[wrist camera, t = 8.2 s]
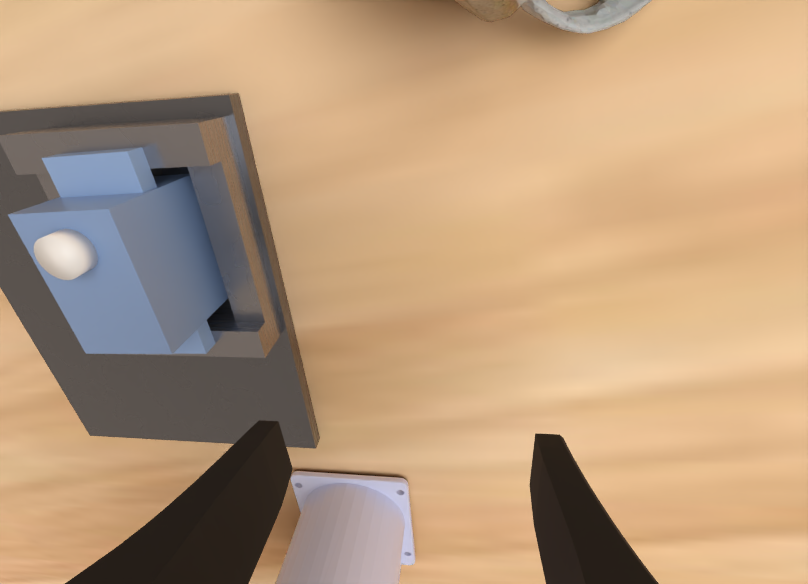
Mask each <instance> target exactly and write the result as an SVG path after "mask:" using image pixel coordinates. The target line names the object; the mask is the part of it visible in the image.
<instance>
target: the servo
mask: <svg viewBox="0 0 808 584" xmlns="http://www.w3.org/2000/svg"><path fill="white" fill-rule="evenodd" d="M42 160H43V162H44V164H45V166H46V168H47V170H48V172H49V174H50V176H51V179H52V181H53V183H54V185H55V187H56V189H57V191H58V193H59V195H60V197H58V198H55V199H52V200H49V201H46V202H43V203H40V204H37V205H34V206H32V207H29V208H26V209H23V210H20V211H17V212H14V213H11V214H8V216H9V218H10V220H11V222H12V223H13V225H14V227H15V229H16V230H17V232H18V234H19V236H20V238H21V239H22V241H23V243H24V245H25V246H26V248H27V250H28V252H29V254H30V255H31V257H32V259H33V261H34V262H35V264H36V266H37V268H38V270H39V271H40V273H41V275H42V277H43V278H44V280H45V282H46V284H47V286H48V287H49V289H50V291H51V293H52V294H53V296H54V298H55V300H56V302H57V303H58V305H59V307H60V309H61V310H62V312H63V314H64V316H65V318H66V319H67V321H68V323H69V325H70V326H71V328H72V330H73V332H74V334H75V335H76V337H77V339H78V341H79V343H80V344H81V346H82V348H83V350H84V351H85V353H86V354H207V353H208V352H209V350H210V349H211V348H212V347H213V346H214V345H215V344H216V343H215V341H214V338H213V335H212V333H211V330H210V327H209V325H208V322H207V319H208V318H209V317H210V316H211V315H212V314H213V313H214V312H215V311H216V310H217V309H218V308H219V307H220V306H221V305H222V304H223V303H224V302H225V301H226V300H227V299H228V295H227V292H226V289H225V286H224V283H223V279H222V276H221V273H220V270H219V267H218V263H217V260H216V257H215V254H214V251H213V247H212V244H211V241H210V238H209V235H208V231H207V228H206V225H205V222H204V219H203V215H202V212H201V209H200V206H199V203H198V199H197V196H196V193H195V190H194V187H193V183H192V180H191V177H190V174H178V175H164V176H153V175H152V172H151V169H150V167H149V164H148V161H147V159H146V156H145V153H144V151H143V148H142V147H139V148H126V149H114V150H101V151H89V152H77V153H64V154H57V155H53V156H48V157H44V158H42Z"/></svg>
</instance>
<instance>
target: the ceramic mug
mask: <svg viewBox="0 0 808 584" xmlns="http://www.w3.org/2000/svg"><path fill="white" fill-rule="evenodd" d="M455 1H456V2H457V3H459V4H460V5H461V6H462V7H464V8H465V9H466V10H468V11H469V12H471V13H472V14H474V15H475V16H477V17H478V18H480V19H481V20H484V21H487V22H493V21H497V20H500V19H504V18H507V17H510V16H511V15H512V14H513V13H514V12H515V11H516V10H517V9H518V8H519V7H520V6H521V7H522V9H523V10H524V11H526V12H527V13H529V14H530V15H532V16H534V17H536V18H538V19H539V20H541V21H543V22H545V23H547V24H550V25H552V26H554V27H556V28H559V29H562V30H566V31H570V32H576V33H592V32H596V31H600V30H604V29H608V28H610V27H612V26H615V25H617V24H619V23H622V22H624V21H625V20H627V19H628V18H630V17H631V16H632V15H634V14H635V13H637V12H638V11H639V10H640V9H641V8H643V7H644V6H645V5H647V4H648V3H649V2H650V1H651V0H599V2H598V3H597V4H596V5H594V6H591V7H589V8H587V9H585V10H575V11H568V12H563V11H560V10H558V9H556V8H554V7H553V6H551V5H549V4H548V3H547V2H546V0H455Z"/></svg>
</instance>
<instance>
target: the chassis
mask: <svg viewBox="0 0 808 584" xmlns="http://www.w3.org/2000/svg"><path fill="white" fill-rule="evenodd" d="M139 147H142V148H143V151H144V153H145V156H146V159H147V161H148V164H149V167H150V169H151V172H152V175H153V176H164V175H178V174H190V177H191V180H192V183H193V187H194V190H195V193H196V196H197V199H198V203H199V206H200V209H201V212H202V215H203V219H204V222H205V225H206V228H207V231H208V235H209V238H210V241H211V244H212V247H213V251H214V254H215V257H216V260H217V263H218V267H219V270H220V273H221V276H222V279H223V283H224V286H225V289H226V292H227V295H228V299H227V300H226V301H225V302H224V303H223V304H222V305H221V306H220V307H219V308H218V309H217V310H216V311H215V312H214V313H213V314H212V315H211V316H210V317H209V318H208V319H207V322H208V325H209V327H210V330H211V333H212V335H213V338H214V341H215V343H216V344H215V345H214V346H213V347H212V348H211V349H210V350H209V352H208V353H207V354H86V353H85V351H84V350H83V348H82V346H81V344H80V343H79V341H78V339H77V337H76V335H75V334H74V332H73V330H72V328H71V326H70V325H69V323H68V321H67V319H66V318H65V316H64V314H63V312H62V310H61V309H60V307H59V305H58V303H57V302H56V300H55V298H54V296H53V294H52V293H51V291H50V289H49V287H48V286H47V284H46V282H45V280H44V278H43V277H42V275H41V273H40V271H39V270H38V268H37V266H36V264H35V262H34V261H33V259H32V257H31V255H30V254H29V252H28V250H27V248H26V246H25V245H24V243H23V241H22V239H21V238H20V236H19V234H18V232H17V230H16V229H15V227H14V225H13V223H12V222H11V220H10V218H9V216H8V214H11V213H14V212H17V211H20V210H23V209H26V208H29V207H32V206H34V205H37V204H40V203H43V202H46V201H49V200H52V199H55V198H58V197H60V195H59V193H58V191H57V189H56V187H55V185H54V183H53V181H52V179H51V176H50V174H49V172H48V170H47V168H46V166H45V164H44V162H43V160H42V158H44V157H48V156H53V155H57V154H64V153H77V152H89V151H101V150H114V149H126V148H139ZM0 287H1V289H2V291H3V292H4V294H5V296H6V297H7V299H8V301H9V302H10V304H11V306H12V307H13V309H14V311H15V312H16V314H17V316H18V317H19V319H20V321H21V322H22V324H23V326H24V327H25V329H26V330H27V332H28V334H29V335H30V337H31V339H32V340H33V342H34V344H35V345H36V347H37V349H38V350H39V352H40V354H41V355H42V357H43V359H44V360H45V362H46V364H47V365H48V367H49V369H50V370H51V372H52V373H53V375H54V377H55V378H56V380H57V382H58V383H59V385H60V387H61V388H62V390H63V392H64V393H65V395H66V397H67V398H68V400H69V402H70V403H71V405H72V407H73V408H74V410H75V411H76V413H77V415H78V416H79V418H80V420H81V421H82V423H83V425H84V426H85V428H86V430H87V431H88V433H89V435H90V436H108V437H125V438H143V439H160V440H177V441H195V442H212V443H230V444H235V443H236V442H237V441H238V440H239V439H240V438H241V437H242V436H243V435H244V434H245V433H246V432H247V431H248V430H249V429H250V428H251V427H252V426H253V425H254V424H256V423H257V422H258V421H259V420H263V421H279V425H280V428H281V431H282V435H283V438H284V442H285V445H286V447H300V448H316V447H317V444H318V442H319V439H320V437H319V433H318V429H317V424H316V420H315V416H314V412H313V407H312V403H311V399H310V395H309V390H308V386H307V382H306V378H305V373H304V369H303V365H302V361H301V356H300V352H299V348H298V344H297V339H296V335H295V331H294V327H293V322H292V318H291V314H290V310H289V305H288V301H287V297H286V293H285V288H284V284H283V280H282V276H281V271H280V267H279V263H278V259H277V254H276V250H275V246H274V242H273V237H272V233H271V229H270V225H269V220H268V216H267V212H266V208H265V203H264V199H263V195H262V191H261V186H260V182H259V178H258V174H257V169H256V165H255V161H254V157H253V152H252V148H251V144H250V140H249V135H248V131H247V127H246V123H245V118H244V114H243V110H242V106H241V101H240V97H239V93H237V94H224V95H210V96H197V97H183V98H170V99H156V100H143V101H129V102H116V103H102V104H89V105H75V106H62V107H48V108H35V109H21V110H8V111H0Z"/></svg>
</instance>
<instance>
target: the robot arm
mask: <svg viewBox="0 0 808 584" xmlns="http://www.w3.org/2000/svg"><path fill="white" fill-rule="evenodd" d="M291 473H292V465H291V462H290V459H289V455H288V452H287V448H286V445H285V442H284V438H283V435H282V431H281V428H280V425H279V421H263V420H259V421H258V422H257V423H256V424H254V425H253V426H252V427H251V428H250V429H249V430H248V431H247V432H246V433H245V434H244V435H243V436H242V437H241V438H240V439H239V440H238V441H237V442H236V443H235V444H234V445H233V446H232V447H231V448H230V449H229V450H228V451H227V452H226V453H225V454H224V455H223V456H222V457H221V458H220V459H219V460H217V461H216V462H215V463H214V464H213V465H212V466H211V467H210V468H209V469H208V470H207V471H206V472H205V473H204V474H203V475H202V476H201V477H200V478H199V479H197V480H196V481H195V482H194V483H193V484H192V485H191V486H190V487H189V488H188V489H187V490H185V491H184V492H183V493H182V494H181V495H180V496H179V497H177V498H176V499H175V500H174V501H173V502H172V503H171V504H170V505H168V506H167V507H166V508H165V509H164V510H163V511H162V512H160V513H159V514H158V515H157V516H156V517H154V518H153V519H152V520H151V521H150V522H148V523H147V524H146V525H145V526H143V527H142V528H141V529H140V530H138V531H137V532H136V533H134V534H133V535H132V536H131V537H129V538H128V539H127V540H125V541H124V542H123V543H122V544H120V545H119V546H118V547H116V548H115V549H114V550H112V551H111V552H109V553H108V554H107V555H105V556H104V557H102V558H101V559H99V560H98V561H97V562H95V563H94V564H92V565H91V566H89V567H88V568H87V569H85V570H84V571H82V572H81V573H80V574H78V575H77V576H75V577H74V578H72V579H71V580H70V581H68V582H67V583H65V584H248V583H249V581H250V579H251V576H252V574H253V572H254V569H255V567H256V565H257V562H258V560H259V558H260V555H261V553H262V551H263V548H264V546H265V544H266V541H267V539H268V537H269V535H270V532H271V530H272V527H273V525H274V523H275V520H276V518H277V516H278V513H279V511H280V508H281V506H282V503H283V500H284V497H285V493H286V490H287V487H288V483H289V480H290V479H291V483H292V486H293V489H294V493H295V496H296V499H297V502H298V506H299V509H300V512H301V515H300V517H299V520H298V523H297V526H296V528H295V531H294V534H293V537H292V539H291V542H290V545H289V548H288V550H287V553H286V556H285V559H284V561H283V564H282V567H281V570H280V573H279V575H278V578H277V581H276V584H399V579H400V571H401V564H403V565H413V564H414V563H415V548H414V538H413V528H412V518H411V508H410V498H409V488H408V482H407V481H406V480H405V479H403V478H397V477H382V476H367V475H351V474H336V473H321V472H306V471H295V472H293V473H292V475H291ZM290 476H291V477H290ZM530 492H531V502H532V511H533V520H534V527H535V532H536V537H537V542H538V547H539V551H540V556H541V561H542V566H543V571H544V575H545V580H546V584H658V582H657V581H656V580H655V579H654V577H653V576H652V575H651V573H650V572H649V571H648V569H647V568H646V567H645V566H644V564H643V563H642V562H641V560H640V559H639V558H638V556H637V555H636V553H635V552H634V551H633V549H632V548H631V547H630V545H629V544H628V542H627V541H626V540H625V538H624V537H623V535H622V534H621V533H620V531H619V530H618V528H617V527H616V525H615V524H614V522H613V521H612V520H611V518H610V516H609V515H608V513H607V512H606V510H605V509H604V507H603V506H602V504H601V503H600V501H599V500H598V498H597V497H596V495H595V493H594V492H593V490H592V489H591V487H590V485H589V484H588V482H587V480H586V479H585V477H584V475H583V474H582V472H581V470H580V469H579V467H578V465H577V463H576V461H575V460H574V458H573V456H572V454H571V452H570V450H569V449H568V447H567V445H566V443H565V441H564V439H563V437H561V436H560V435H555V434H535V442H534V451H533V460H532V469H531V477H530Z"/></svg>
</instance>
